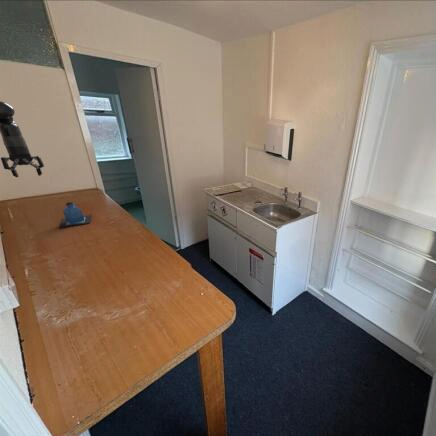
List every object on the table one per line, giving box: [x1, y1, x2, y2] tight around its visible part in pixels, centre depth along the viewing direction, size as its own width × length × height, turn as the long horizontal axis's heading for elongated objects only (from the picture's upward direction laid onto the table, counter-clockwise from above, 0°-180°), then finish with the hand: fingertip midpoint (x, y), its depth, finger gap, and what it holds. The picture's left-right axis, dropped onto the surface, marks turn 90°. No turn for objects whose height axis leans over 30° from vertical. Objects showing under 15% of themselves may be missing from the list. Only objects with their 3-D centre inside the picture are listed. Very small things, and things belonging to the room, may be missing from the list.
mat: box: [59, 215, 92, 229], centre depth 139 cm, size 13×13×1 cm
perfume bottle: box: [62, 200, 84, 224], centre depth 137 cm, size 6×6×12 cm
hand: (28, 176), depth 125 cm, fingers open, 8 cm apart
